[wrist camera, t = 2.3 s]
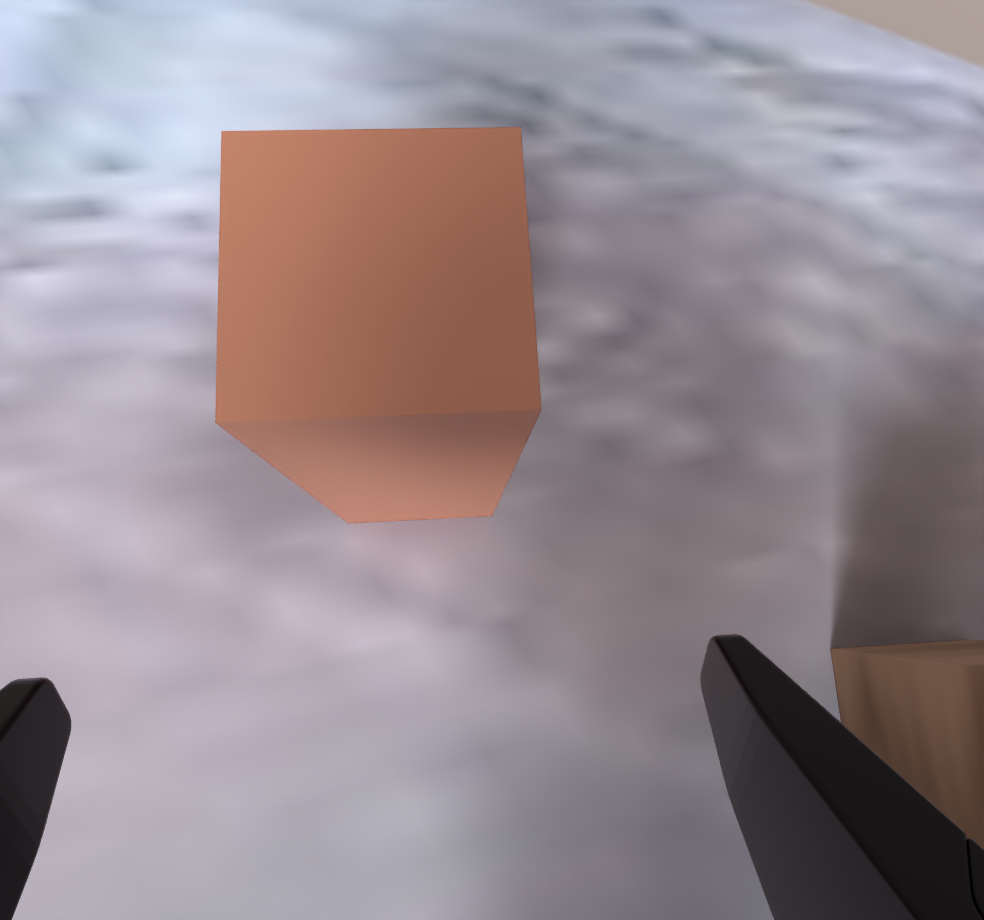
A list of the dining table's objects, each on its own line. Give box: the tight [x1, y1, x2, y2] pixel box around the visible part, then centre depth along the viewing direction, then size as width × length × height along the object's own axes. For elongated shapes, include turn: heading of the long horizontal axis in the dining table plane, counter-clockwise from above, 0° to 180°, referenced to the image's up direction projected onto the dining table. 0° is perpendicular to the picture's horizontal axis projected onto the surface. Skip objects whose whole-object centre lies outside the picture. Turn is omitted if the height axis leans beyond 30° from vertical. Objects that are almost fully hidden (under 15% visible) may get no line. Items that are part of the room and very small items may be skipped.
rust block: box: [215, 127, 541, 523], centre depth 16 cm, size 4×4×12 cm
